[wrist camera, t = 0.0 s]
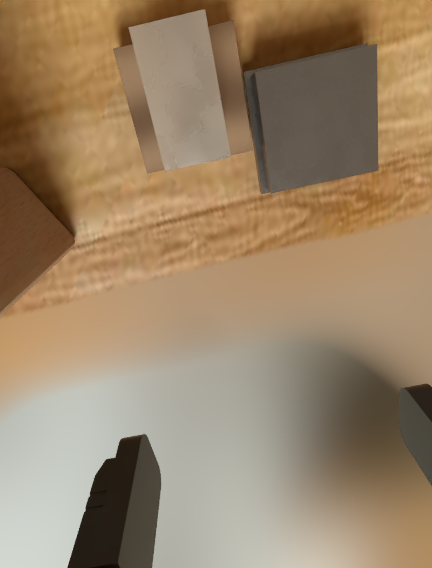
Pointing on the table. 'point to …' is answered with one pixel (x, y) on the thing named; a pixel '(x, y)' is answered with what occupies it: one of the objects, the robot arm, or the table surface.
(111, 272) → the table surface
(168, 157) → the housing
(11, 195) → the wooden block
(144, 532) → the robot arm
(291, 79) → the stand
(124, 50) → the stand
